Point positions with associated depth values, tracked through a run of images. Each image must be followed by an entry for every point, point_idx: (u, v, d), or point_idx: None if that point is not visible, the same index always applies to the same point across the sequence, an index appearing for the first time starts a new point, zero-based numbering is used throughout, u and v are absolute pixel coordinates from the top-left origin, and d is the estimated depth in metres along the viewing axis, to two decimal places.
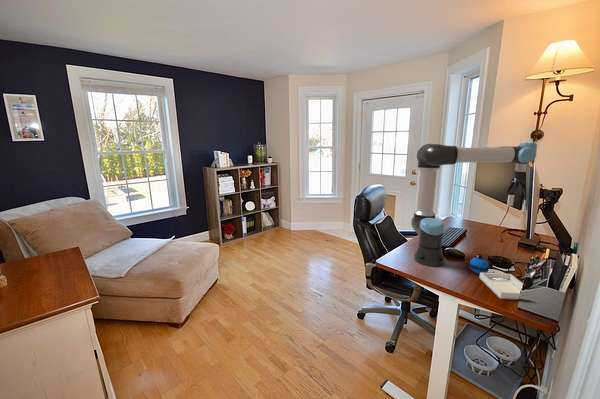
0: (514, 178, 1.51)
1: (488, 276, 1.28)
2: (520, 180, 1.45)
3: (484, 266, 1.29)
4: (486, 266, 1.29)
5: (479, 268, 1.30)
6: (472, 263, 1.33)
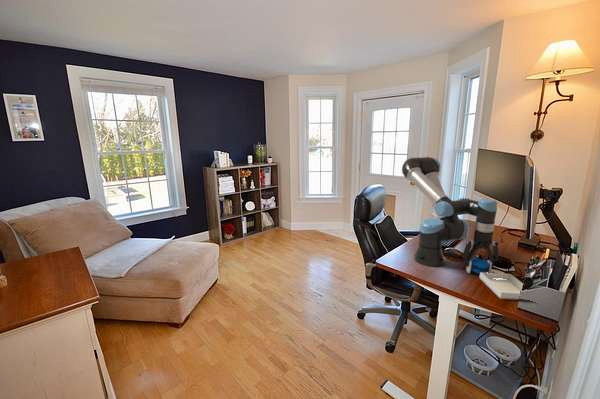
0: (495, 241, 1.30)
1: (488, 276, 1.28)
2: None
3: (484, 266, 1.29)
4: (486, 266, 1.29)
5: (479, 268, 1.30)
6: (472, 263, 1.32)
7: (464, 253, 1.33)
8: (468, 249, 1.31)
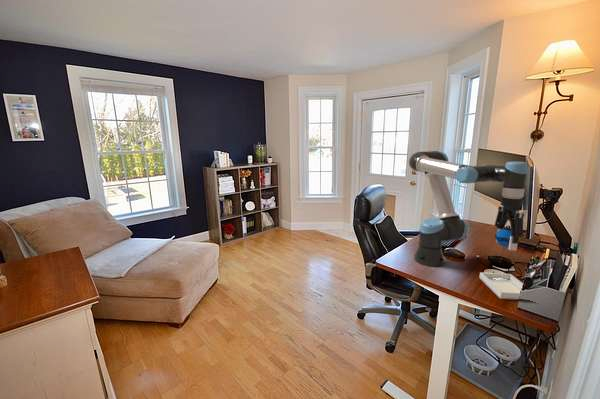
0: None
1: (488, 276, 1.28)
2: (508, 208, 1.16)
3: None
4: None
5: (518, 238, 1.17)
6: None
7: (520, 229, 1.10)
8: None
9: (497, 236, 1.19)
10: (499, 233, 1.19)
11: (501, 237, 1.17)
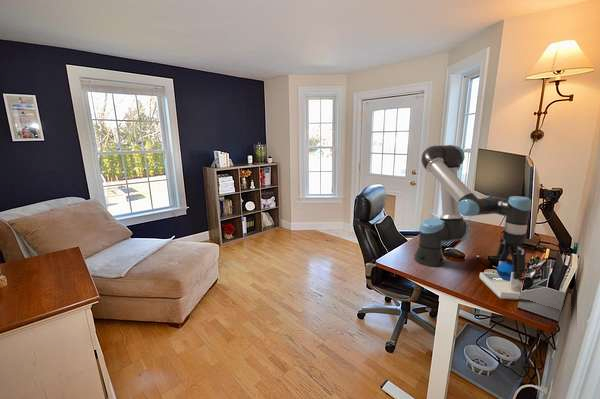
0: (503, 239, 1.21)
1: (488, 276, 1.28)
2: (510, 243, 1.15)
3: None
4: None
5: (520, 273, 1.16)
6: None
7: (521, 266, 1.09)
8: None
9: (498, 270, 1.18)
10: (501, 267, 1.18)
11: (502, 271, 1.16)
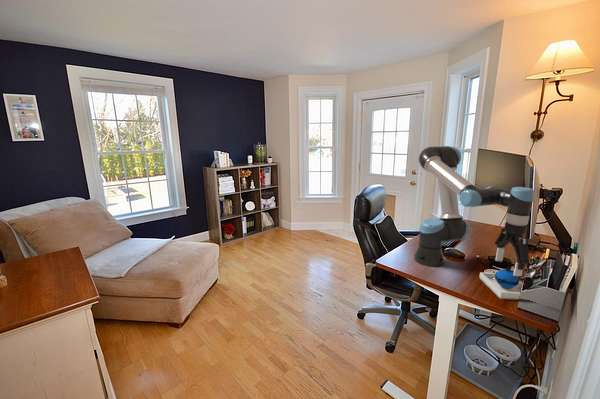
0: None
1: (488, 276, 1.28)
2: (512, 234, 1.14)
3: None
4: None
5: (518, 280, 1.17)
6: (515, 280, 1.15)
7: (525, 256, 1.07)
8: None
9: (497, 277, 1.19)
10: (499, 274, 1.19)
11: (501, 279, 1.17)
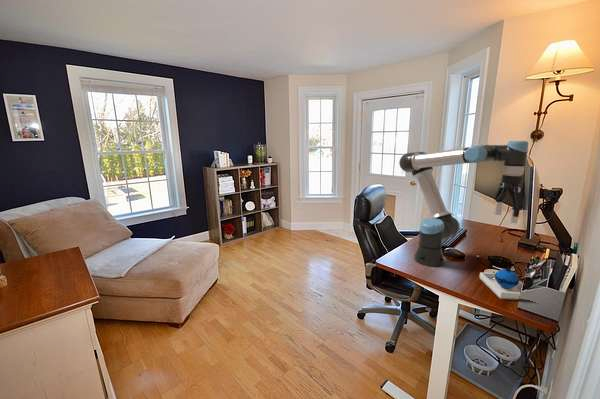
0: (502, 183, 1.29)
1: (488, 276, 1.28)
2: (508, 185, 1.23)
3: None
4: None
5: (518, 280, 1.17)
6: (514, 280, 1.15)
7: (520, 203, 1.16)
8: None
9: (497, 277, 1.19)
10: (499, 274, 1.19)
11: (501, 278, 1.17)
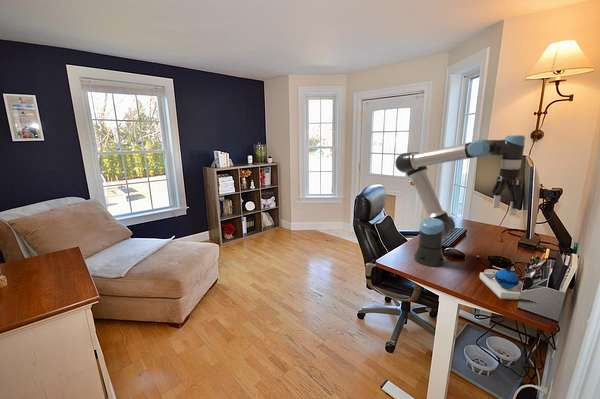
0: None
1: (488, 276, 1.28)
2: (506, 179, 1.26)
3: None
4: None
5: (518, 280, 1.17)
6: (514, 280, 1.15)
7: (518, 195, 1.19)
8: None
9: (497, 277, 1.19)
10: (499, 274, 1.19)
11: (501, 278, 1.17)
